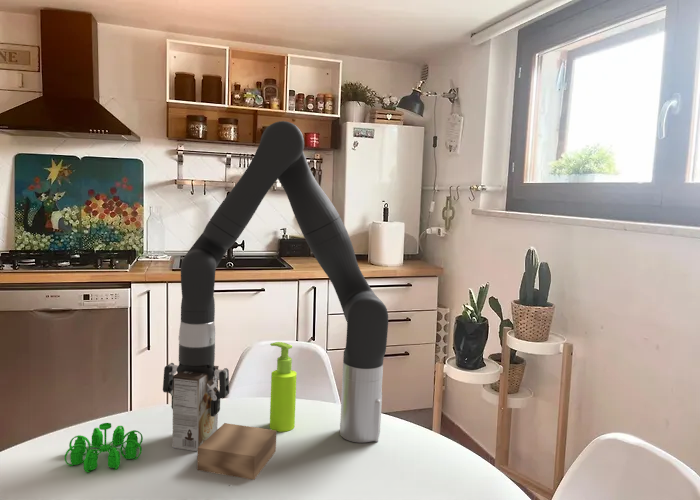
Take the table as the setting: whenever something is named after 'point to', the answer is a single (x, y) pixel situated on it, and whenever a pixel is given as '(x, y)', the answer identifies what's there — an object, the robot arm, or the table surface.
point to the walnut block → (237, 451)
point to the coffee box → (192, 410)
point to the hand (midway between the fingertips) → (195, 413)
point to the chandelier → (104, 447)
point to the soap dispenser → (283, 392)
